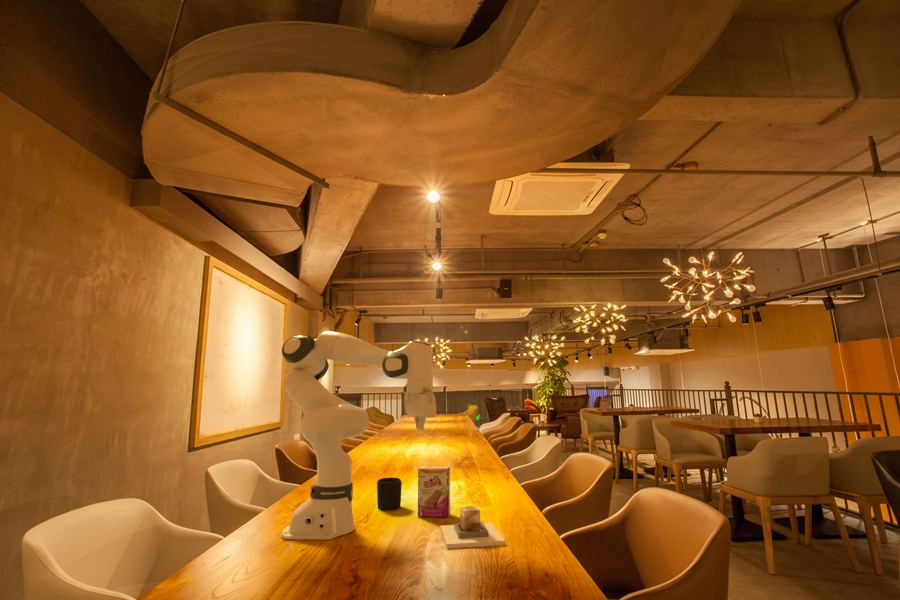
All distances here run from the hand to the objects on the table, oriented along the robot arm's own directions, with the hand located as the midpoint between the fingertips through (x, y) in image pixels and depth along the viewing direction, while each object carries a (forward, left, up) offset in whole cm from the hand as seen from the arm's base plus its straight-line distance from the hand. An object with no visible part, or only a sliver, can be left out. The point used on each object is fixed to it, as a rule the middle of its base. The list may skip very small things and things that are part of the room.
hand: (419, 429), depth 148 cm
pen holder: (-10, +28, -31) cm, 43 cm away
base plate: (+15, -10, -31) cm, 36 cm away
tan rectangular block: (+15, -10, -30) cm, 35 cm away
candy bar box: (+6, +14, -31) cm, 35 cm away
